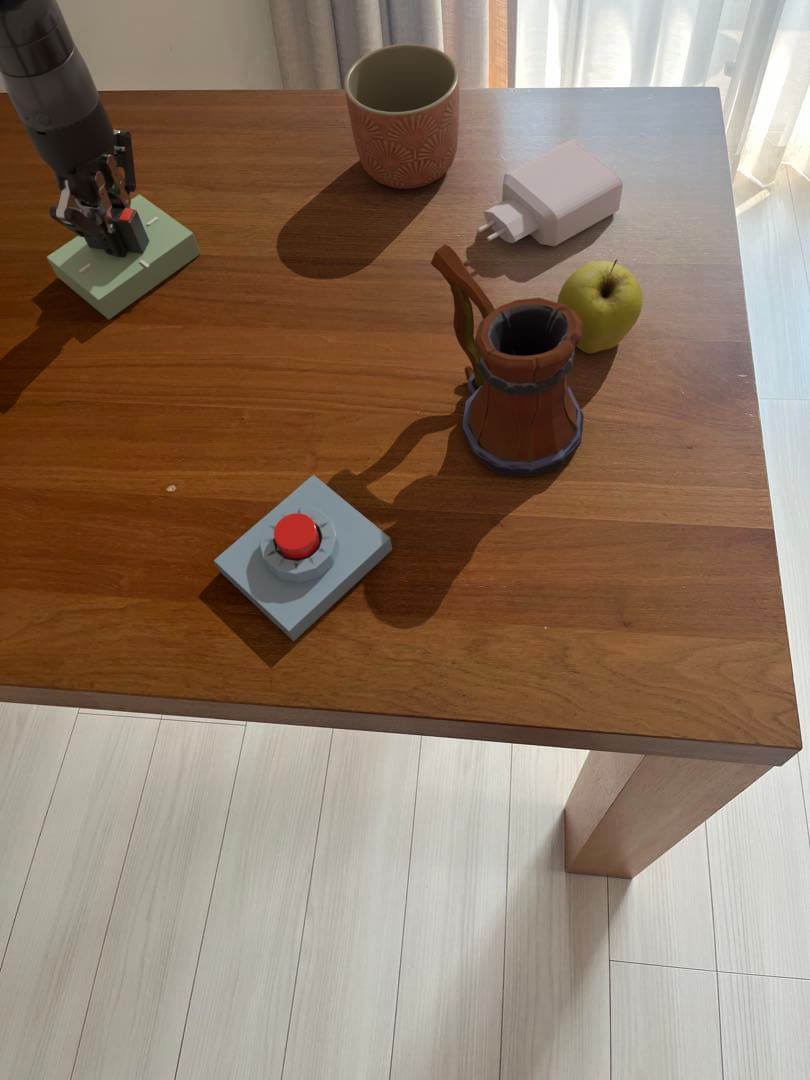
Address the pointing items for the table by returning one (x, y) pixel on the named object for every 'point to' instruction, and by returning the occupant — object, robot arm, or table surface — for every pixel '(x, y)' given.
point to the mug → (515, 376)
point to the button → (296, 536)
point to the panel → (125, 262)
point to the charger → (555, 196)
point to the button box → (304, 559)
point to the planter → (404, 113)
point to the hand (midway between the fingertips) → (124, 244)
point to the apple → (602, 303)
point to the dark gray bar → (126, 230)
